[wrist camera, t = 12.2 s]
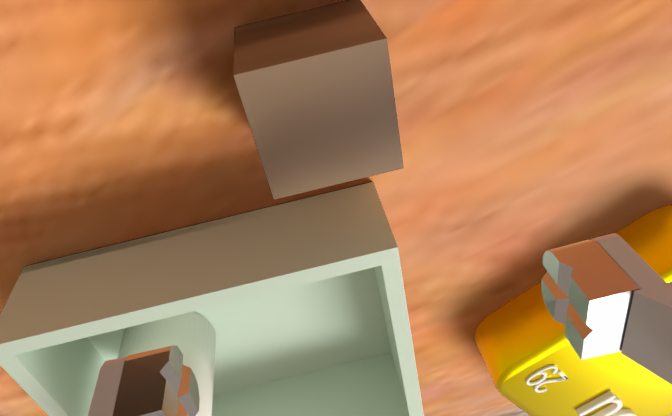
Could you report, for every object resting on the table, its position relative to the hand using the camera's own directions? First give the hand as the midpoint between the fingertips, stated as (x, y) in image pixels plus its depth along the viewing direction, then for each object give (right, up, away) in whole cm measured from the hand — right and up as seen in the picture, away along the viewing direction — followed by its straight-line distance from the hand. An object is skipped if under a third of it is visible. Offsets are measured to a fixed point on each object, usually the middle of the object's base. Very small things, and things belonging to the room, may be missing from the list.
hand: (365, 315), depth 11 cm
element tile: (+18, -5, +24) cm, 31 cm away
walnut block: (-2, +8, +11) cm, 13 cm away
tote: (-6, -4, +18) cm, 20 cm away
